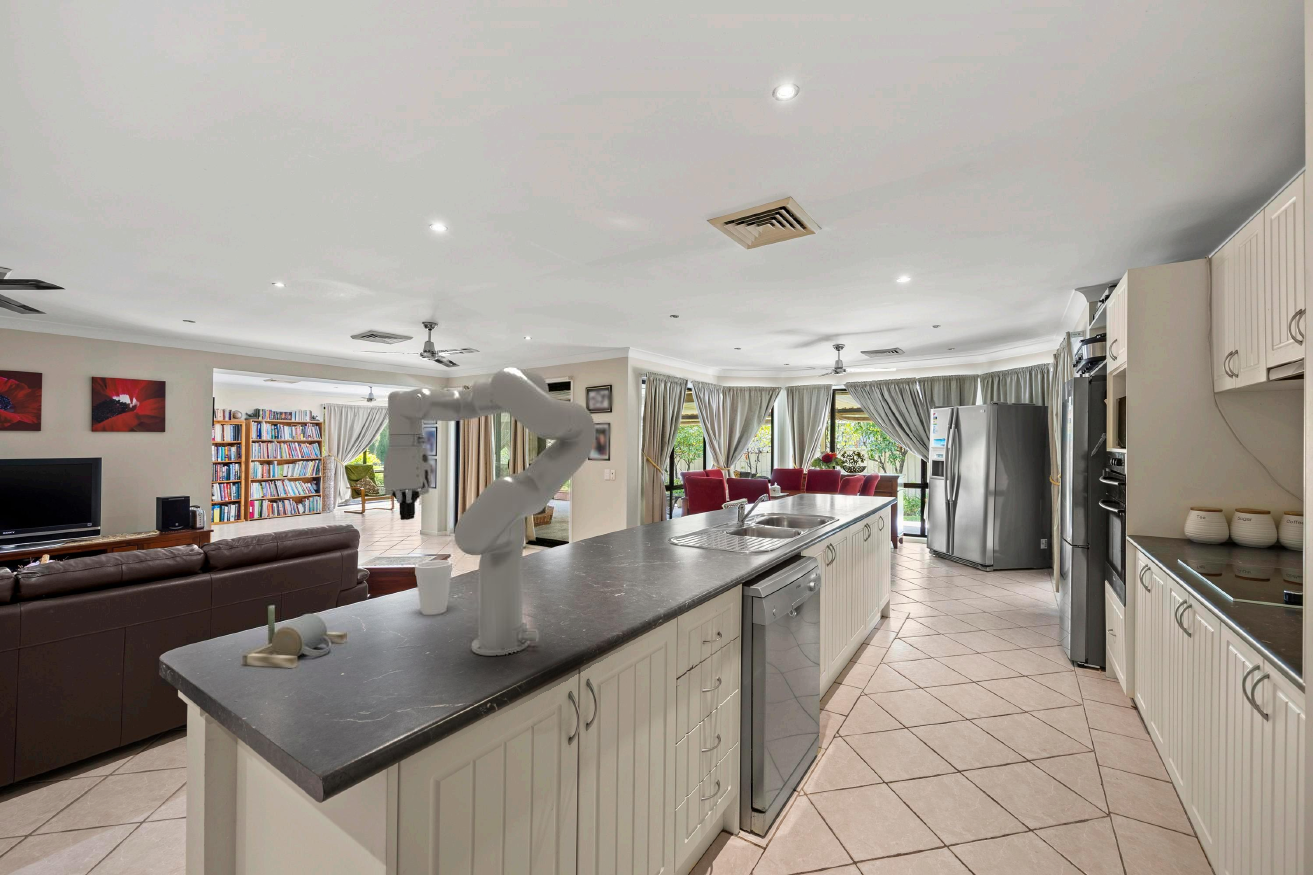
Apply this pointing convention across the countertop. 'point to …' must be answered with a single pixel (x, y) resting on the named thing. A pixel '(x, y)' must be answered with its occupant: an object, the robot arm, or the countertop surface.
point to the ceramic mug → (301, 637)
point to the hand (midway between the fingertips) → (407, 518)
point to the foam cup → (433, 585)
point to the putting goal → (264, 653)
